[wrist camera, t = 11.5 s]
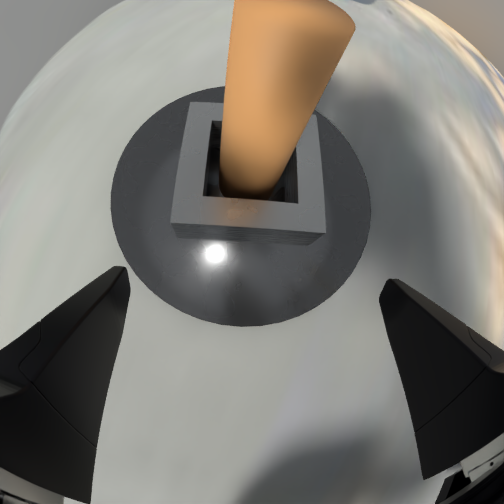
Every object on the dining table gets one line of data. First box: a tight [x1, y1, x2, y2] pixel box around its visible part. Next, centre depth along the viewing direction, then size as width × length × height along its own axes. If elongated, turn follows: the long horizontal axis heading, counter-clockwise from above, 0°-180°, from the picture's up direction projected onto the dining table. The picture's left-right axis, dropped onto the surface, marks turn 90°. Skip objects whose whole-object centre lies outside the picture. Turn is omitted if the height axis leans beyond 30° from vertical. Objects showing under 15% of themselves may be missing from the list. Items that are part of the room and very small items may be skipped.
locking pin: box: [219, 0, 355, 201], centre depth 12 cm, size 4×4×12 cm
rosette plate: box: [111, 87, 371, 327], centre depth 18 cm, size 27×18×4 cm, turn 178°
